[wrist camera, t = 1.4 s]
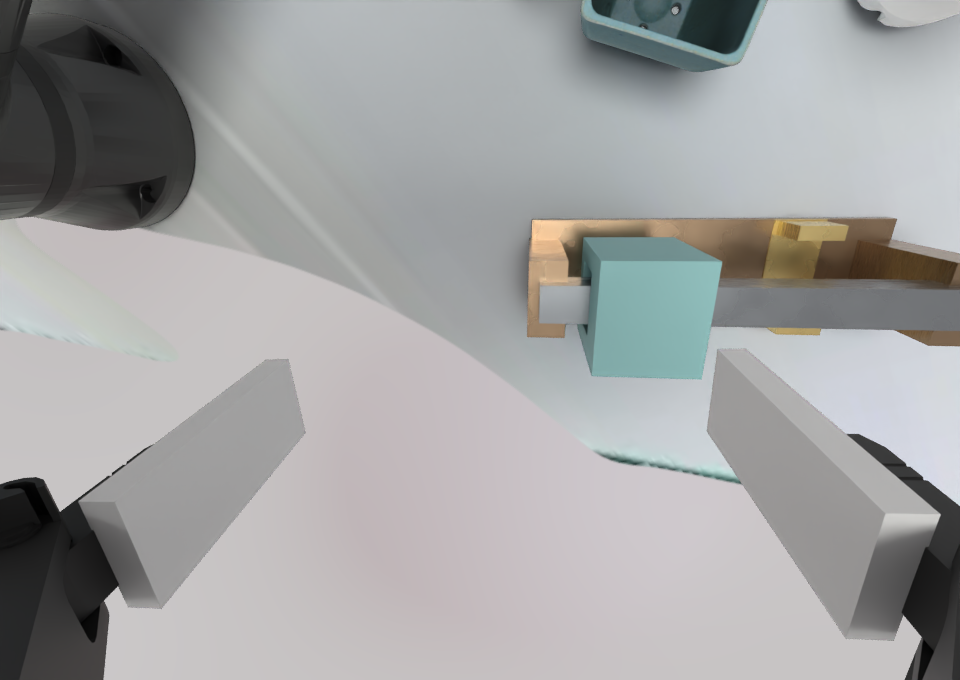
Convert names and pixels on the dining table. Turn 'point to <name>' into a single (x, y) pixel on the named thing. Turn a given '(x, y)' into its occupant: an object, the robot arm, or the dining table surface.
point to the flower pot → (676, 29)
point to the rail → (769, 274)
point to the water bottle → (912, 11)
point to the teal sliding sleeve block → (648, 307)
